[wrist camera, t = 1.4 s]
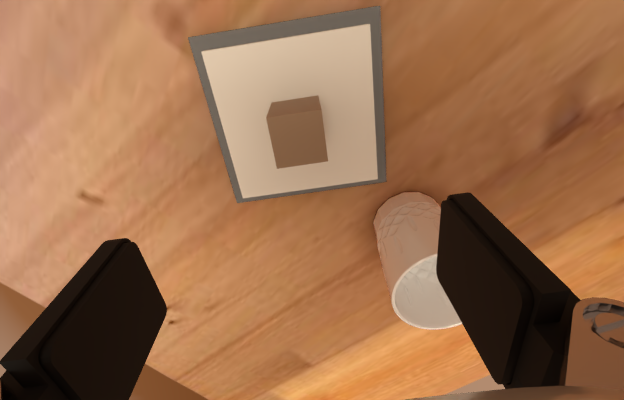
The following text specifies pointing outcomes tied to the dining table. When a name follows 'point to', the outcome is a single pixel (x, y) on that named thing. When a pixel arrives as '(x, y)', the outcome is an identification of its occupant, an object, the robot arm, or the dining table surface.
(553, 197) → the dining table surface
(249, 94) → the lid
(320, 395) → the dining table surface
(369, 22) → the grey flat square slab
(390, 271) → the white cup
